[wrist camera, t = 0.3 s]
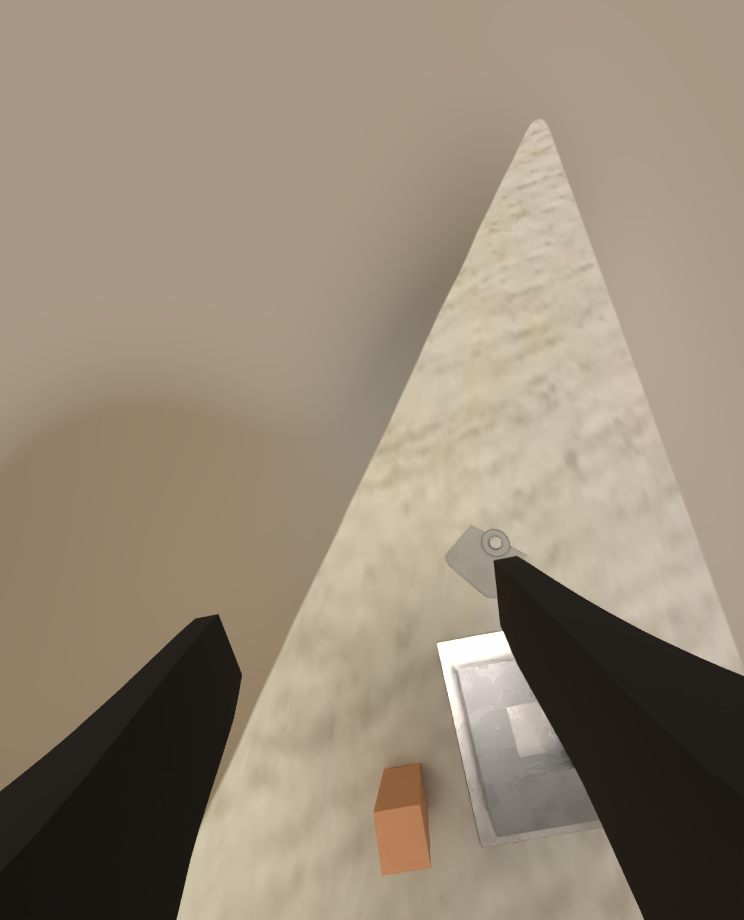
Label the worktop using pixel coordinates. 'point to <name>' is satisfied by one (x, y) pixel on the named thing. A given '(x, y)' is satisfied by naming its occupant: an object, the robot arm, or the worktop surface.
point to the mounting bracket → (480, 558)
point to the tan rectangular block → (402, 821)
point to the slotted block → (509, 747)
